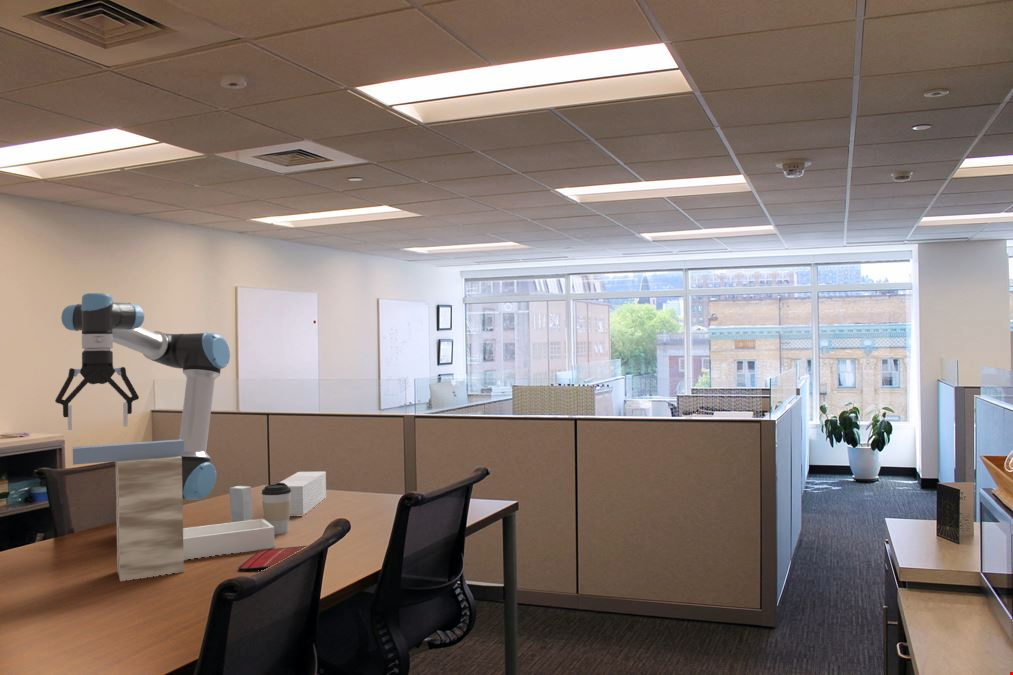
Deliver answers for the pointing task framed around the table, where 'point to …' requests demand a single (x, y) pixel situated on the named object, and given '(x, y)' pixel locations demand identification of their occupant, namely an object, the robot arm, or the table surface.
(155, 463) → the beige tall box
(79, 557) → the table surface
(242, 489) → the skincare box
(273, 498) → the coffee cup
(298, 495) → the stack of papers
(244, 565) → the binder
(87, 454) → the block
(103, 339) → the robot arm
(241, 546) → the tray
